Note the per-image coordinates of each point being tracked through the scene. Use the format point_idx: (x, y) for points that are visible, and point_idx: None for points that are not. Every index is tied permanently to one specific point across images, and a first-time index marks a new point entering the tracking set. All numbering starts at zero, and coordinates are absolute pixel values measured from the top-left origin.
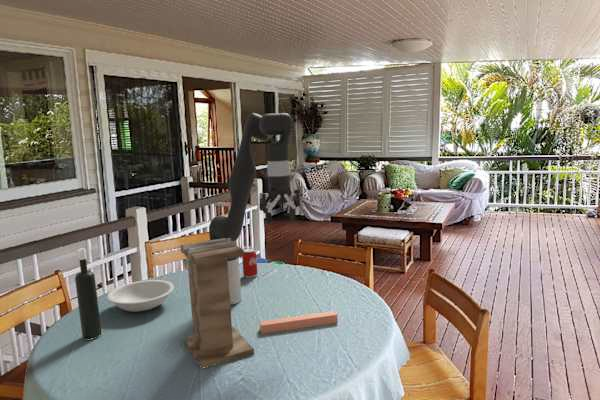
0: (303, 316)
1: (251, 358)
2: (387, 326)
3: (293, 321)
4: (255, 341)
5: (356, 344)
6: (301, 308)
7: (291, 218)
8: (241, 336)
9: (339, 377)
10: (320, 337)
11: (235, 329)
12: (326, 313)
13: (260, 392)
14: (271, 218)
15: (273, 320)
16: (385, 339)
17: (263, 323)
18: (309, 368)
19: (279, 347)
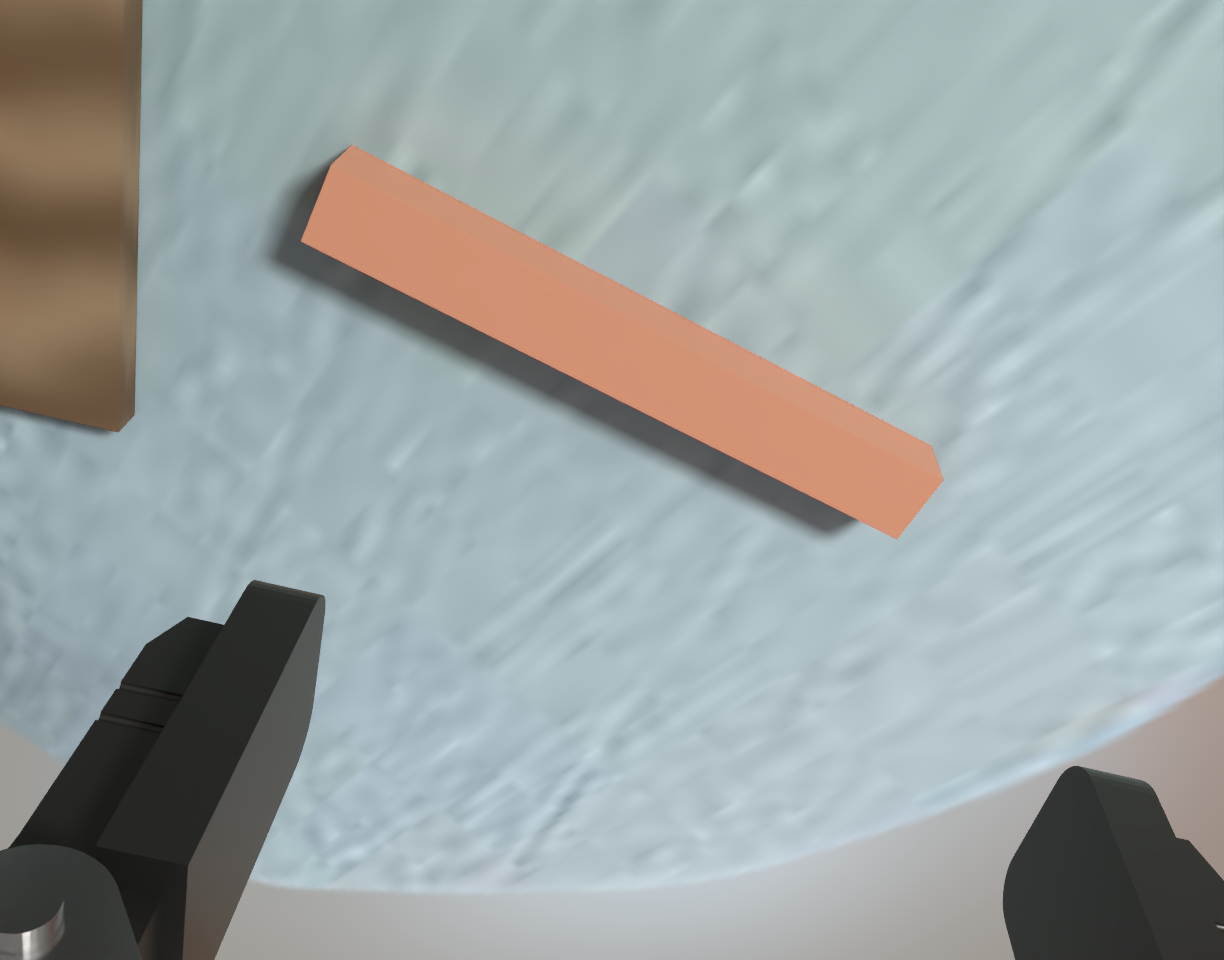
0: (682, 371)
1: (94, 446)
2: (1045, 756)
3: (562, 370)
4: (221, 285)
5: (708, 753)
6: (927, 74)
7: (1032, 875)
8: (115, 217)
9: (391, 860)
10: (618, 562)
11: (121, 66)
12: (857, 468)
13: (3, 709)
14: (255, 853)
15: (440, 242)
16: (874, 824)
17: (337, 225)
18: (323, 732)
19: (317, 469)
